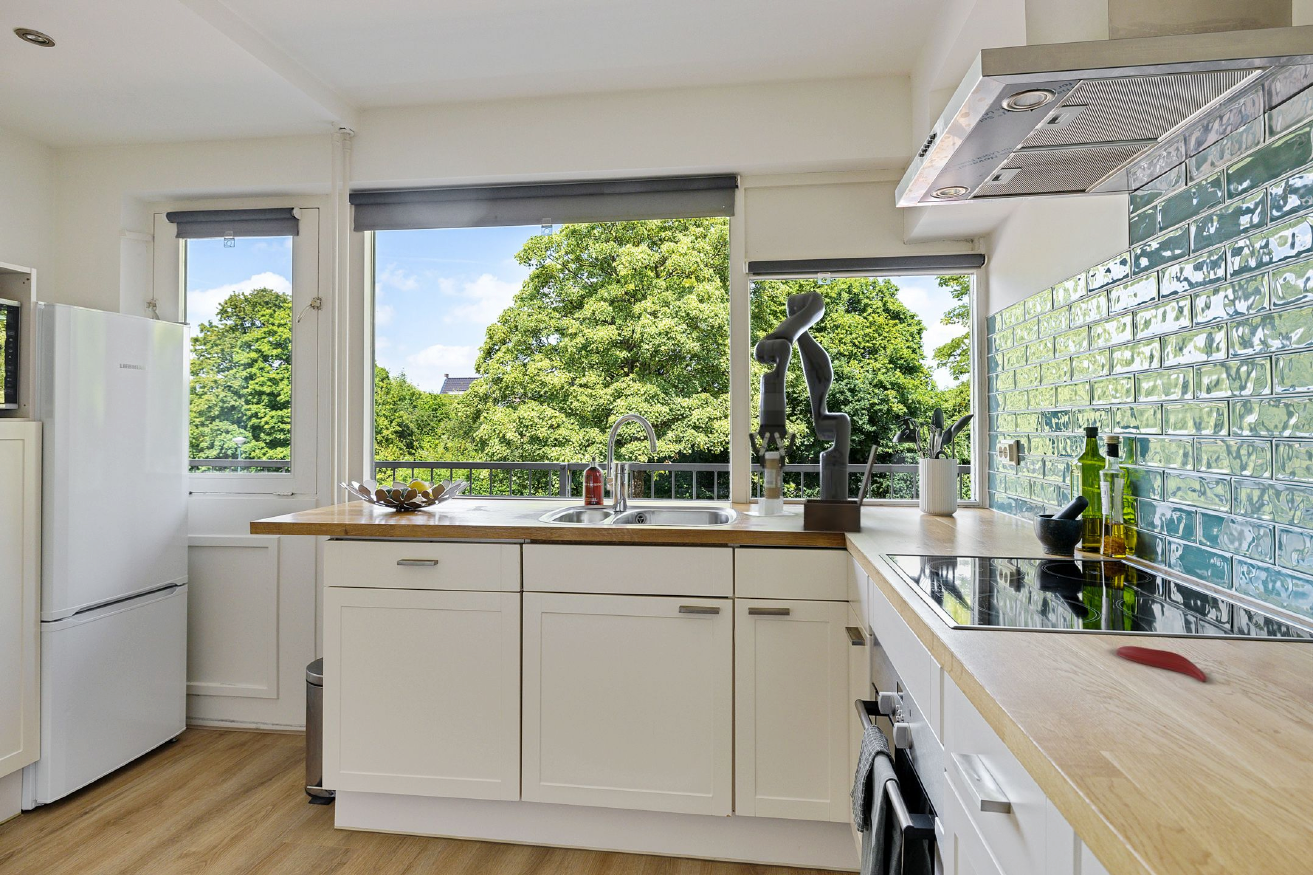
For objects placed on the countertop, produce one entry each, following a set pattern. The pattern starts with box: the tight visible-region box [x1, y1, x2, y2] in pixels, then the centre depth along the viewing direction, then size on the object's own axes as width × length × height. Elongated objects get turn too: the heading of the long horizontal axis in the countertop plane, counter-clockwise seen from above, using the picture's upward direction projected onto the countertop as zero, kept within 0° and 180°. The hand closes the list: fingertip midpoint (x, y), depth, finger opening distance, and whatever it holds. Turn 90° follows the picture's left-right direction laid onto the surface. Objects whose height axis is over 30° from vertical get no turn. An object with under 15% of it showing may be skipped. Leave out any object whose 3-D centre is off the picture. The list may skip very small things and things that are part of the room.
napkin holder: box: [741, 495, 796, 517], centre depth 243 cm, size 15×11×6 cm
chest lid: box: [857, 444, 879, 505], centre depth 207 cm, size 16×13×1 cm
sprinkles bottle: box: [764, 451, 781, 499], centre depth 213 cm, size 5×5×13 cm
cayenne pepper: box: [1115, 645, 1207, 683], centre depth 91 cm, size 12×5×2 cm, turn 8°
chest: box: [803, 498, 862, 534], centre depth 209 cm, size 15×13×8 cm
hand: (772, 468), depth 213 cm, fingers closed on sprinkles bottle, 4 cm apart
